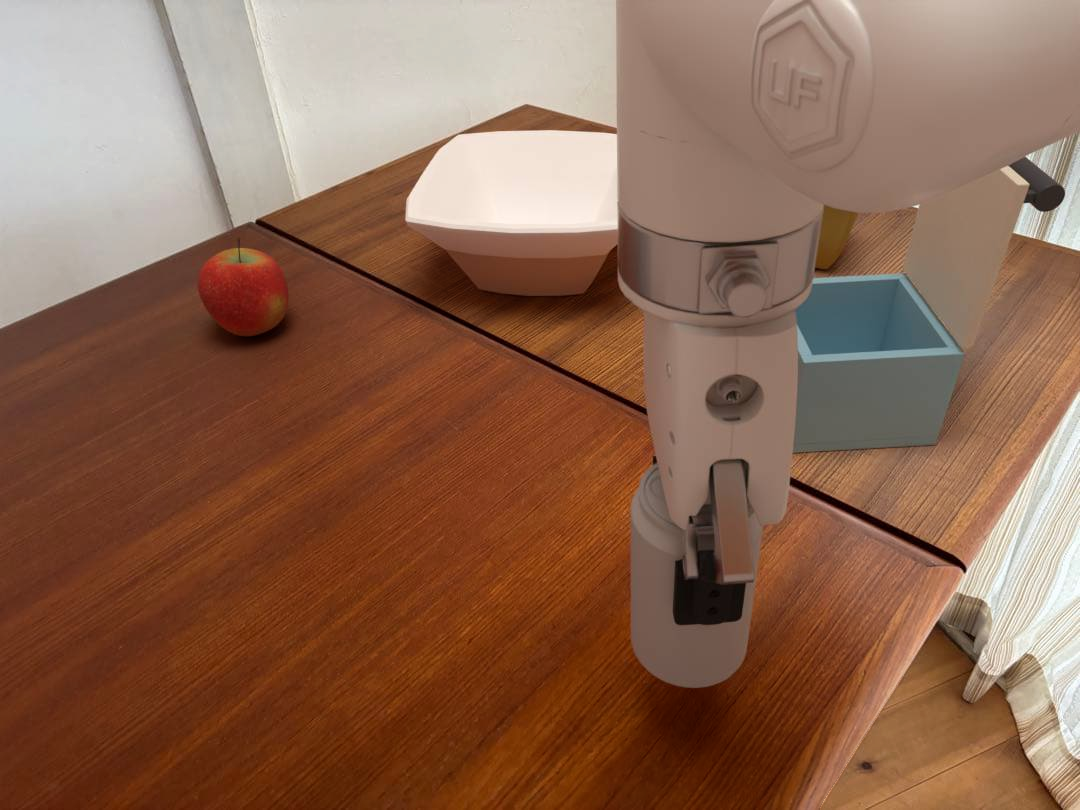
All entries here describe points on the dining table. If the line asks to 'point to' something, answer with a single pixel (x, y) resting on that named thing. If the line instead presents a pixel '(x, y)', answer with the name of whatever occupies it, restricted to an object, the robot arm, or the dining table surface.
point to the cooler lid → (972, 241)
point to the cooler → (871, 365)
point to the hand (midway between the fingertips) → (693, 560)
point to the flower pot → (833, 235)
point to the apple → (243, 291)
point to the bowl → (522, 208)
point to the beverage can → (654, 634)
